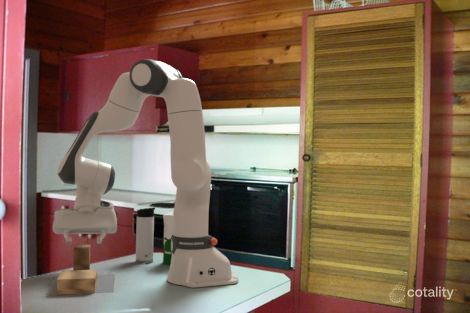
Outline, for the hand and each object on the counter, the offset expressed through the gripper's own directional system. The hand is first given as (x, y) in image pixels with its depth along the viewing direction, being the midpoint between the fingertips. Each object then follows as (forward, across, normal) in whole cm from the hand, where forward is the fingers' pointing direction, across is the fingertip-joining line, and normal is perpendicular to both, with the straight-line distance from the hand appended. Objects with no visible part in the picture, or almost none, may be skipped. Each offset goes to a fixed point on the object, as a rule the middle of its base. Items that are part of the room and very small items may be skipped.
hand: (83, 243), depth 149 cm
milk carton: (-3, +31, +18) cm, 36 cm away
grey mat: (+15, +1, -1) cm, 16 cm away
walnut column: (+11, 0, +3) cm, 11 cm away
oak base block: (+19, 0, -5) cm, 19 cm away
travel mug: (-5, +20, +20) cm, 29 cm away
